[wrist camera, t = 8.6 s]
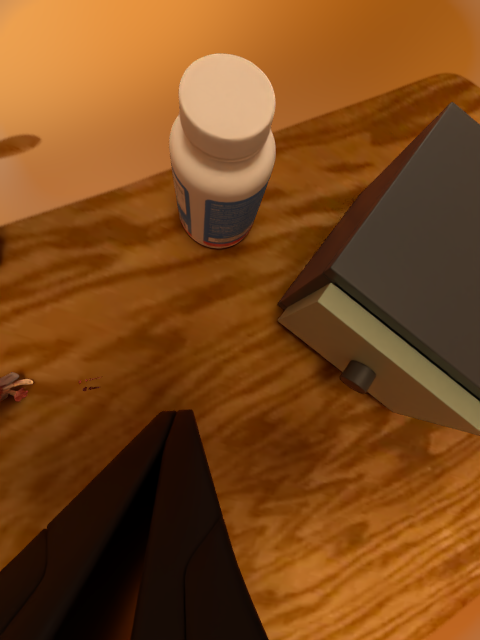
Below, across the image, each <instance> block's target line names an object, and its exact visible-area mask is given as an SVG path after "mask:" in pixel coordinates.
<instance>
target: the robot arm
mask: <svg viewBox="0 0 480 640" xmlns="http://www.w3.org/2000/svg"><path fill="white" fill-rule="evenodd" d="M0 640H268V637H267V635H266V633H265V630H264V628H263V626H262V623H261V621H260V619H259V616H258V614H257V612H256V609H255V607H254V605H253V602H252V600H251V597H250V595H249V592H248V590H247V587H246V585H245V582H244V580H243V577H242V575H241V572H240V569H239V567H238V564H237V561H236V558H235V555H234V552H233V549H232V545H231V542H230V539H229V536H228V532H227V529H226V525H225V522H224V519H223V515H222V512H221V508H220V505H219V501H218V498H217V494H216V491H215V487H214V483H213V480H212V476H211V473H210V469H209V466H208V462H207V459H206V455H205V452H204V448H203V445H202V441H201V438H200V434H199V430H198V427H197V423H196V420H195V416H194V413H193V411H192V410H179V411H177V412H176V411H174V410H173V411H162V412H160V413H159V414H158V415H157V416H156V417H155V418H154V419H153V420H152V421H151V422H150V423H149V424H148V425H147V426H146V427H145V428H144V429H143V430H142V431H141V432H140V433H139V434H138V435H137V436H136V437H135V438H134V439H133V440H132V441H131V442H130V443H129V444H128V445H127V446H126V447H125V448H124V449H123V450H122V451H121V452H120V453H119V454H118V455H117V456H116V457H115V458H114V459H113V460H112V461H111V462H110V463H109V464H108V465H107V466H106V467H105V468H104V469H103V470H102V471H101V472H100V473H99V474H98V475H97V476H96V477H95V478H94V479H93V480H92V481H91V482H90V483H89V484H88V485H87V486H86V487H85V488H84V489H83V490H82V491H81V492H80V493H79V494H78V495H77V496H76V497H75V498H74V499H73V500H72V501H71V502H70V503H69V504H68V505H67V506H66V507H65V508H64V509H63V510H62V511H61V512H60V513H59V514H58V515H57V516H56V517H55V518H54V519H53V520H52V521H51V522H50V523H49V524H48V526H47V529H43V530H42V531H41V532H40V533H39V534H38V535H37V536H36V537H35V538H34V539H33V540H32V541H31V542H30V543H29V544H28V545H27V546H26V547H25V548H24V549H23V550H22V551H21V552H20V553H19V554H18V555H17V556H16V557H15V558H14V559H13V560H12V561H11V562H10V563H9V564H8V565H7V566H6V567H5V568H4V569H3V570H1V571H0Z"/></svg>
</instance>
